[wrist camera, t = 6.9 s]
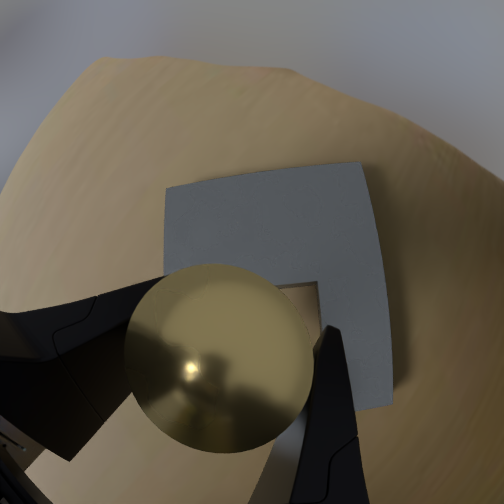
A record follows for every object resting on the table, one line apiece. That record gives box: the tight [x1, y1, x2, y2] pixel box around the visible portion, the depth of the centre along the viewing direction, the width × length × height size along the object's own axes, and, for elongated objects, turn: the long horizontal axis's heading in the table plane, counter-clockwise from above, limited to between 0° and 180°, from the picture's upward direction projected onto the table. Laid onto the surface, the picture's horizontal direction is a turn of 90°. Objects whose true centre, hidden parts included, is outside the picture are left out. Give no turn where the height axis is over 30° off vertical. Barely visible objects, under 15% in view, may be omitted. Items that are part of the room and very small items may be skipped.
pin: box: [124, 264, 314, 453], centre depth 9 cm, size 4×4×10 cm
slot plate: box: [164, 162, 393, 411], centre depth 18 cm, size 16×14×2 cm
